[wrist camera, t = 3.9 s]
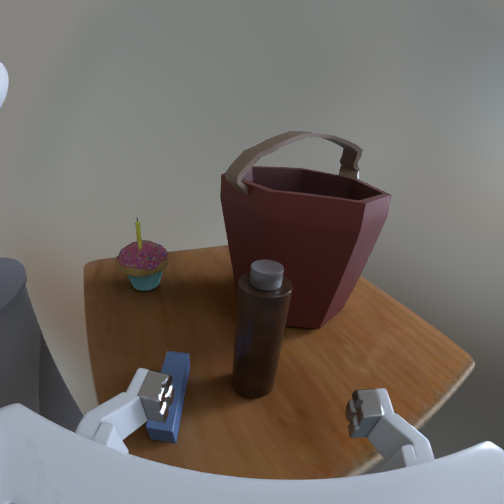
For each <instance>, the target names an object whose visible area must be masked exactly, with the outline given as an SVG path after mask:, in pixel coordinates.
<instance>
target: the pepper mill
mask: <svg viewBox="0 0 504 504" xmlns="http://www.w3.org/2000/svg"><path fill="white" fill-rule="evenodd" d="M283 272H284V267H283V266H282V265H281V264H280V263H278V262H276V261H272V260H257V261H254V262H253V263H252V264H251V272H248V273H245V274H244V275H242V276H241V277H240V278H239V281H238V296H237V311H236V326H235V342H234V358H233V375H232V384H233V387H234V389H235V390H236V391H237V392H238V393H239V394H241V395H242V396H245V397H249V398H259V397H263V396H265V395H267V394H268V393H269V392H270V391H271V390H272V388H273V384H274V380H275V375H276V370H277V366H278V361H279V356H280V351H281V346H282V341H283V336H284V331H285V326H286V320H287V315H288V310H289V304H290V299H291V293H292V283H291V281H290V280H289V279H288V278H286V277H285V276H283Z"/></svg>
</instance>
